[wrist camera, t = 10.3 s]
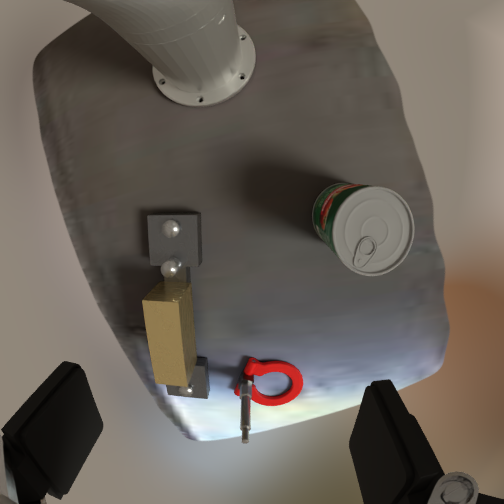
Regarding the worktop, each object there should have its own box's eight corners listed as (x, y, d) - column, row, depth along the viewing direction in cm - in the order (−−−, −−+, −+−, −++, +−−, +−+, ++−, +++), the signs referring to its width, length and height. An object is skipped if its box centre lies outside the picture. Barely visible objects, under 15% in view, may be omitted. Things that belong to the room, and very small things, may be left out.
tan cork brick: (159, 281, 36) (142, 300, 30) (191, 282, 35) (178, 302, 30) (168, 357, 38) (155, 383, 32) (197, 359, 38) (187, 386, 32)
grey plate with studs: (153, 213, 36) (140, 218, 31) (201, 212, 35) (192, 217, 31) (171, 385, 42) (164, 403, 38) (209, 389, 42) (205, 408, 37)
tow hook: (311, 366, 41) (250, 350, 40) (330, 431, 28) (251, 417, 27) (287, 405, 43) (231, 392, 42) (297, 469, 30) (227, 458, 29)
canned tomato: (328, 171, 34) (357, 168, 23) (383, 201, 34) (427, 211, 24) (300, 231, 36) (316, 254, 25) (356, 258, 36) (389, 289, 25)
